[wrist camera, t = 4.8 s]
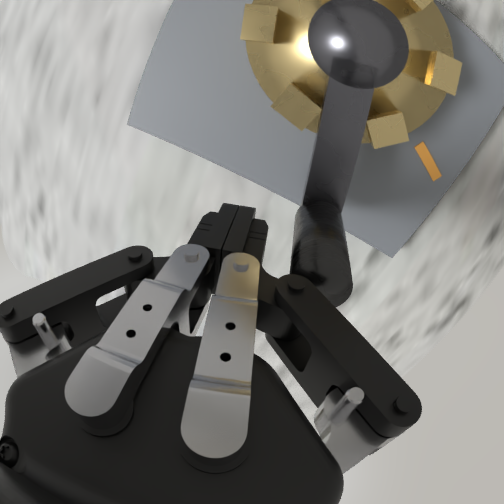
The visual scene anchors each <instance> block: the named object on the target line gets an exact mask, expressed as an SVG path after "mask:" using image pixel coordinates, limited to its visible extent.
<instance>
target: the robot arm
mask: <svg viewBox="0 0 504 504" xmlns="http://www.w3.org/2000/svg"><path fill="white" fill-rule="evenodd" d="M255 212H256V208H252V207H246V206H239V205H233V204H227V203H223V205H222V207H221V209H220V210H219V212H218V213H217V212H209V213H208V214H206V215H204V216H203V217H202V219H201V221H200V222H199V224H198V226H197V228H196V229H195V231H194V233H193V235H192V237H191V238H190V240H189V242H188V244H186V245H183V246H180V247H178V248H177V249H176V250H175V251H174V252H173V254H172V255H171V256H169V257H153V253H152V251H151V250H150V249H149V248H147V247H145V246H131V247H128V248H126V249H123V250H121V251H118V252H116V253H113V254H111V255H108V256H106V257H103V258H101V259H98V260H96V261H94V262H91V263H89V264H86V265H84V266H82V267H79V268H77V269H75V270H72V271H70V272H68V273H65V274H63V275H61V276H58V277H56V278H54V279H52V280H49V281H47V282H45V283H43V284H40V285H38V286H36V287H34V288H32V289H29V290H27V291H25V292H23V293H21V294H19V295H16V296H14V297H12V298H10V299H8V300H6V301H4V302H3V303H1V304H0V332H1V333H2V335H3V338H4V339H5V341H6V342H7V344H8V345H9V348H10V352H11V356H12V360H13V364H14V368H15V371H16V374H17V379H16V380H15V381H14V383H13V384H12V386H11V387H10V389H9V391H8V394H7V397H6V404H5V422H4V428H3V434H2V437H1V439H0V504H338V503H339V501H340V499H341V496H342V493H343V485H344V481H343V473H345V472H346V471H348V470H349V469H350V468H352V467H353V466H355V465H356V464H357V463H359V462H360V461H361V460H362V459H364V458H365V457H366V456H368V455H371V454H373V453H374V452H376V451H377V450H379V449H380V448H382V447H383V446H385V445H386V444H388V443H389V442H390V441H392V440H393V439H395V438H396V437H398V436H399V435H400V434H402V433H403V432H404V431H405V430H407V429H408V428H410V427H411V426H412V425H413V424H415V423H416V422H417V421H418V419H419V418H420V416H421V412H422V406H421V402H420V399H419V398H418V396H417V395H416V393H415V392H414V391H413V390H412V389H411V388H410V387H409V386H408V385H407V384H406V383H405V381H404V380H403V379H402V378H401V377H400V376H399V375H398V374H397V373H396V372H395V370H394V369H393V368H392V367H391V366H390V365H389V364H388V363H387V362H386V361H385V360H384V359H383V358H382V356H381V355H380V354H379V353H378V352H377V351H376V350H375V349H374V348H373V347H372V346H371V345H370V344H369V342H368V341H367V340H366V339H365V338H364V337H363V336H362V335H361V334H360V333H359V332H358V331H357V330H356V329H355V328H354V327H353V325H352V324H351V323H350V322H349V321H348V320H347V319H346V318H345V317H344V316H343V315H342V314H341V313H340V312H339V311H338V310H337V309H336V308H335V306H334V305H333V304H332V303H331V302H330V301H329V300H328V299H327V298H326V297H325V296H324V295H323V294H322V293H321V292H320V291H319V290H318V289H317V288H316V287H315V286H314V285H313V284H312V283H311V282H310V281H309V280H308V279H307V278H305V277H303V276H300V275H295V274H288V275H284V276H282V277H280V278H279V279H278V278H275V277H273V276H271V275H270V274H268V273H267V272H266V271H265V270H264V269H263V267H262V262H263V257H264V251H265V245H266V239H267V233H268V225H267V223H266V221H265V220H260V219H255ZM123 286H124V288H125V292H126V293H125V294H123V295H121V296H119V297H117V298H114V299H112V300H110V301H108V302H106V303H104V304H101V305H99V306H96V301H97V300H98V299H99V298H100V297H101V296H103V295H105V294H108V293H110V292H112V291H114V290H116V289H119V288H121V287H123ZM211 294H215V295H212V298H211V302H210V306H209V310H208V314H207V318H206V323H205V327H204V331H203V336H195V335H196V333H197V331H198V329H199V327H200V324H201V322H202V320H203V318H204V316H205V314H206V311H207V309H208V303H209V300H210V297H211ZM256 329H258V330H260V331H262V332H265V336H266V339H267V341H268V342H269V344H270V345H271V346H272V348H273V349H274V351H275V352H276V353H277V355H278V356H279V357H280V359H281V360H282V361H283V363H284V364H285V365H286V367H287V368H288V370H289V371H290V372H291V374H292V375H293V376H294V378H295V379H296V380H297V382H298V383H299V384H300V386H301V387H302V388H303V389H304V391H305V392H306V393H307V395H308V396H309V397H310V399H311V400H312V401H313V403H314V404H315V405H316V406H317V408H318V409H317V411H316V413H315V416H314V423H315V426H316V428H317V430H318V432H319V434H320V436H319V435H318V433H317V432H316V431H315V429H314V428H313V426H312V425H311V423H310V422H309V421H308V419H307V418H306V416H305V415H304V413H303V412H302V410H301V409H300V407H299V406H298V404H297V403H296V401H295V400H294V399H293V397H292V396H291V394H290V393H289V391H288V390H287V388H286V387H285V385H284V384H283V382H282V381H281V379H280V378H279V376H278V374H277V373H276V372H275V370H274V369H273V368H272V367H271V366H270V365H269V364H268V363H267V362H266V361H265V360H263V359H262V358H260V357H259V356H257V355H256V354H254V343H255V331H256Z"/></svg>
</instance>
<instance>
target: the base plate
mask: <svg viewBox="0 0 504 504" xmlns="http://www.w3.org/2000/svg"><path fill="white" fill-rule="evenodd" d="M433 1H434V3H435V4H436V5H437V7H438V9H439V10H440V12H441V14H442V16H443V17H444V20H445V22H446V24H447V27H448V29H449V33H450V36H451V40H452V46H453V53H454V59H456V60H458V61H460V62H462V67H461V72H460V77H459V82H458V86H457V90H456V95H455V96H453V95H450V94H446V96H445V98H444V100H443V102H442V103H441V105H440V106H439V108H438V109H437V110H436V112H435V113H434V114H433V115H432V116H431V117H430V118H429V119H428V120H427V121H426V122H425V123H423V124H422V125H421V126H420V127H418V128H416V129H415V130H413V131H412V132H410V133H408V138H409V141H407V142H403V143H398V144H394V145H390V146H386V147H381V148H377V149H374V148H373V147H372V145H371V143H361V146H360V150H359V154H358V157H357V161H356V165H355V168H354V172H353V176H352V179H351V183H350V186H349V189H348V193H347V196H346V200H345V203H344V206H343V210H342V213H341V214H342V219H343V225H344V230H345V231H347V232H348V233H350V234H352V235H354V236H355V237H357V238H359V239H361V240H362V241H364V242H366V243H368V244H369V245H371V246H373V247H374V248H376V249H378V250H379V251H381V252H383V253H384V254H386V255H388V256H389V257H391V258H393V256H394V255H395V254H396V253H397V252H398V251H399V250H400V248H401V247H402V246H403V245H404V244H405V243H406V241H407V240H408V239H409V238H410V237H411V236H412V234H413V233H414V232H415V231H416V230H417V228H418V227H419V226H420V225H421V223H422V222H423V221H424V220H425V219H426V217H427V216H428V215H429V214H430V212H431V211H432V210H433V208H434V207H435V206H436V205H437V203H438V202H439V201H440V199H441V198H442V197H443V196H444V194H445V193H446V192H447V190H448V189H449V188H450V186H451V185H452V183H453V182H454V181H455V179H456V178H457V177H458V175H459V174H460V172H461V171H462V170H463V168H464V167H465V165H466V164H467V163H468V161H469V160H470V158H471V157H472V155H473V154H474V152H475V151H476V149H477V148H478V146H479V145H480V143H481V142H482V140H483V139H484V137H485V136H486V134H487V132H488V131H489V129H490V128H491V126H492V124H493V123H494V121H495V120H496V118H497V116H498V115H499V113H500V111H501V110H502V108H503V106H504V63H503V62H502V61H501V60H500V59H499V58H498V56H497V55H496V54H495V53H494V52H493V51H492V50H491V49H490V48H489V47H488V46H487V45H486V44H485V43H484V42H483V41H482V40H481V39H480V38H479V37H478V36H477V35H476V34H475V33H474V32H473V31H472V30H470V29H469V28H468V27H467V26H466V25H465V24H464V23H463V22H462V21H460V20H459V19H458V18H457V17H456V16H455V15H453V14H452V13H451V12H450V11H449V10H447V9H446V8H445V7H444V6H442V5H441V4H440V3H438V2H437V1H436V0H433ZM252 2H253V0H174V1H173V3H172V5H171V7H170V9H169V11H168V13H167V15H166V18H165V20H164V22H163V24H162V27H161V29H160V31H159V34H158V36H157V38H156V41H155V43H154V46H153V48H152V51H151V54H150V56H149V59H148V61H147V64H146V67H145V70H144V72H143V75H142V78H141V81H140V84H139V87H138V90H137V93H136V96H135V99H134V102H133V106H132V109H131V112H130V116H129V119H128V122H127V125H129V126H132V127H134V128H136V129H139V130H141V131H144V132H146V133H148V134H151V135H153V136H155V137H158V138H160V139H162V140H165V141H167V142H169V143H172V144H174V145H176V146H178V147H181V148H183V149H185V150H187V151H189V152H192V153H194V154H196V155H198V156H200V157H203V158H205V159H207V160H209V161H211V162H213V163H215V164H217V165H220V166H222V167H224V168H226V169H228V170H230V171H232V172H234V173H236V174H238V175H240V176H242V177H244V178H246V179H249V180H251V181H253V182H255V183H257V184H259V185H261V186H263V187H265V188H266V189H268V190H270V191H272V192H274V193H276V194H278V195H280V196H282V197H284V198H286V199H288V200H290V201H292V202H294V203H295V204H297V205H299V206H300V205H301V201H302V197H303V192H304V188H305V183H306V179H307V174H308V170H309V165H310V161H311V156H312V151H313V147H314V142H315V137H316V133H314V132H312V131H310V130H308V129H306V128H304V130H303V131H300V130H299V129H298V128H297V127H296V126H294V125H293V124H292V123H291V122H289V121H288V120H287V119H286V118H284V117H283V116H282V115H281V114H279V113H278V112H277V111H275V110H274V109H273V108H272V107H270V106H271V105H272V104H273V102H272V101H271V100H270V99H269V97H268V96H267V95H266V93H265V92H264V91H263V89H262V88H261V86H260V85H259V83H258V81H257V79H256V77H255V75H254V73H253V70H252V68H251V65H250V62H249V59H248V54H247V50H246V41H243V40H241V39H240V36H241V29H242V22H243V15H244V9H245V4H252Z"/></svg>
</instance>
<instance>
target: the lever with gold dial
mask: <svg viewBox="0 0 504 504" xmlns="http://www.w3.org/2000/svg"><path fill="white" fill-rule="evenodd" d="M240 39H241V40H243V41H246V50H247V54H248V59H249V62H250V65H251V68H252V70H253V73H254V75H255V77H256V79H257V81H258V83H259V85H260V86H261V88H262V89H263V91H264V92H265V93H266V95H267V96H268V97H269V99H270V100H271V101H272V102H273V104H272V105H271V106H270V107H272V108H273V109H274V110H275V111H277V112H278V113H279V114H281V115H282V116H283V117H284V118H286V119H287V120H288V121H289V122H291V123H292V124H293V125H294V126H296V127H297V128H298V129H299V130H300V131H303V130H304V128H306V129H308V130H310V131H312V132H314V133H316V137H315V142H314V147H313V151H312V156H311V161H310V165H309V170H308V174H307V179H306V183H305V188H304V192H303V197H302V201H301V205H300V208H299V209H298V211H297V213H296V216H295V225H294V236H293V246H292V256H291V266H290V274H295V275H300V276H303V277H305V278H307V279H308V280H309V281H310V282H311V283H312V284H313V285H314V286H315V287H316V288H317V289H318V290H319V291H320V292H321V293H322V294H323V295H324V296H325V297H326V298H327V299H328V300H329V301H330V302H331V303H332V304H333V305H334V306H335V307H338V306H339V305H341V304H343V303H344V302H345V301H346V300H347V299H348V298H349V296H350V295H351V292H352V289H353V282H352V275H351V268H350V261H349V254H348V248H347V242H346V236H345V230H344V225H343V219H342V214H341V213H342V210H343V206H344V203H345V200H346V196H347V193H348V189H349V186H350V183H351V179H352V176H353V172H354V168H355V165H356V161H357V157H358V154H359V150H360V146H361V143H371V145H372V147H373V148H374V149H377V148H381V147H386V146H390V145H394V144H398V143H403V142H407V141H409V138H408V133H410V132H412V131H413V130H415V129H416V128H418V127H420V126H421V125H422V124H423V123H425V122H426V121H427V120H428V119H429V118H430V117H431V116H432V115H433V114H434V113H435V112H436V110H437V109H438V108H439V106H440V105H441V103H442V102H443V100H444V98H445V96H446V94H450V95H453V96H455V95H456V90H457V86H458V82H459V77H460V72H461V67H462V62H460V61H458V60H456V59H454V53H453V46H452V40H451V36H450V33H449V29H448V27H447V24H446V22H445V20H444V17H443V16H442V14H441V12H440V10H439V9H438V7H437V5H436V4H435V3H434V1H433V0H253V2H252V4H245V9H244V15H243V22H242V29H241V36H240Z"/></svg>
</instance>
